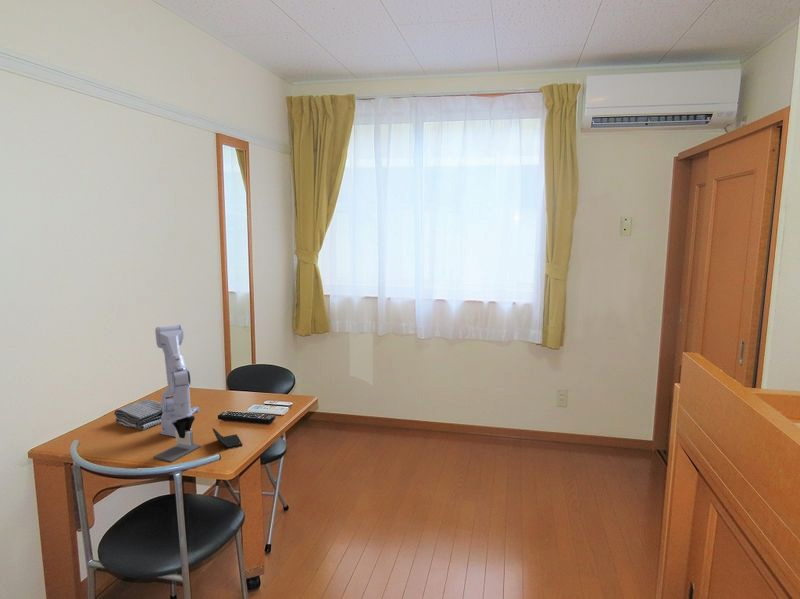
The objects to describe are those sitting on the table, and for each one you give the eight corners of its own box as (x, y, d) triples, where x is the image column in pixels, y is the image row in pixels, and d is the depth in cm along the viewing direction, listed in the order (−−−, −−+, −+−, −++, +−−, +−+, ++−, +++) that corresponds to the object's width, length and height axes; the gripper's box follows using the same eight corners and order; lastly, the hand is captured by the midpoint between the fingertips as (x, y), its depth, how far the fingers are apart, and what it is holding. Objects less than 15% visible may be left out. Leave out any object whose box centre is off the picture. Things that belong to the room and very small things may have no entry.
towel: (146, 412, 229) (144, 396, 228) (173, 420, 221) (171, 403, 219) (113, 424, 216) (112, 406, 215) (141, 432, 207) (139, 414, 206)
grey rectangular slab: (153, 457, 184) (153, 456, 184) (183, 442, 197) (183, 441, 197) (171, 462, 181) (171, 461, 181) (201, 446, 193) (201, 445, 193)
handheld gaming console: (247, 440, 195) (229, 424, 191) (234, 456, 192) (215, 439, 188) (237, 435, 204) (219, 419, 200) (224, 449, 201) (206, 434, 197)
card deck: (176, 443, 192) (175, 430, 192) (179, 441, 194) (178, 428, 193) (190, 445, 190) (189, 433, 189) (193, 444, 191) (192, 431, 190)
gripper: (174, 410, 181) (176, 445, 183) (204, 397, 194) (206, 431, 196) (160, 407, 184) (162, 442, 186) (190, 395, 197) (192, 428, 199)
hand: (184, 436), depth 191 cm, fingers closed on card deck, 2 cm apart
